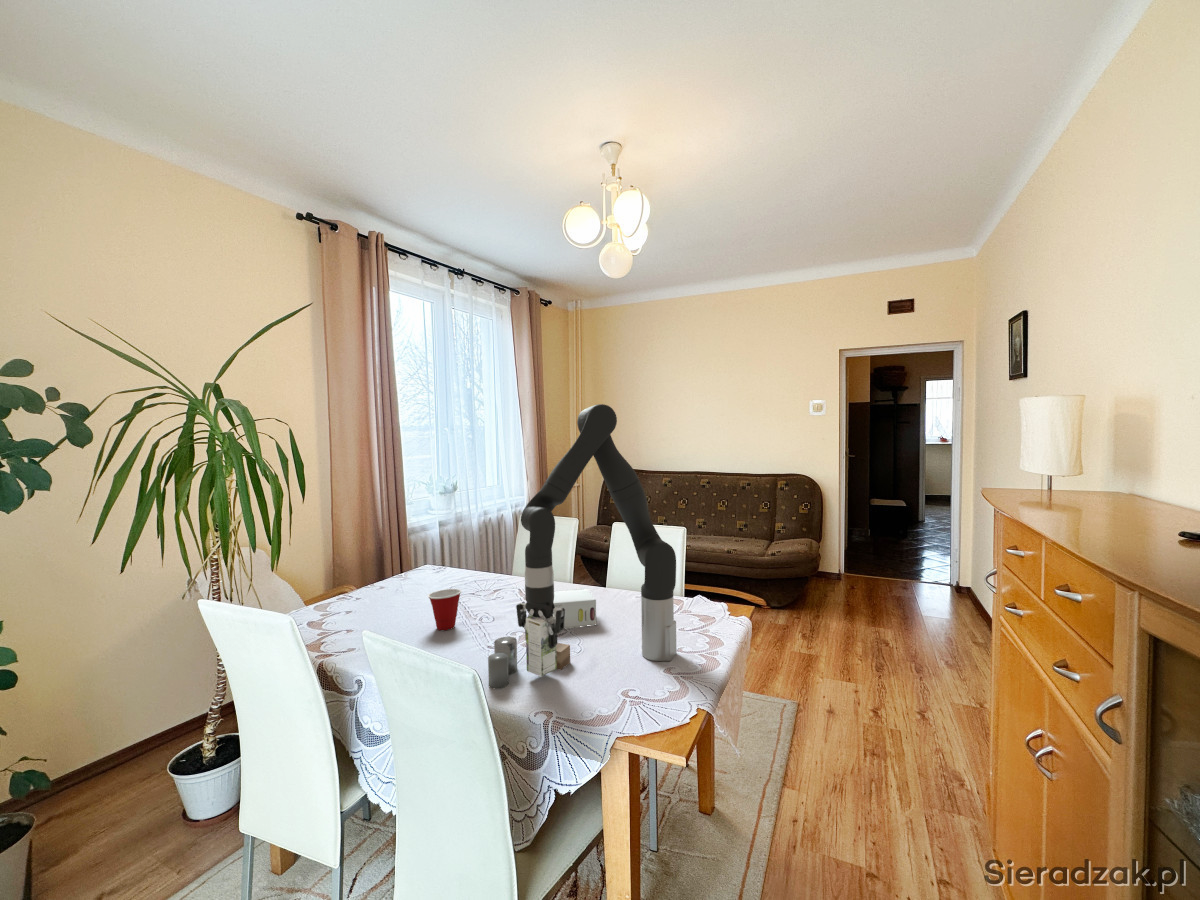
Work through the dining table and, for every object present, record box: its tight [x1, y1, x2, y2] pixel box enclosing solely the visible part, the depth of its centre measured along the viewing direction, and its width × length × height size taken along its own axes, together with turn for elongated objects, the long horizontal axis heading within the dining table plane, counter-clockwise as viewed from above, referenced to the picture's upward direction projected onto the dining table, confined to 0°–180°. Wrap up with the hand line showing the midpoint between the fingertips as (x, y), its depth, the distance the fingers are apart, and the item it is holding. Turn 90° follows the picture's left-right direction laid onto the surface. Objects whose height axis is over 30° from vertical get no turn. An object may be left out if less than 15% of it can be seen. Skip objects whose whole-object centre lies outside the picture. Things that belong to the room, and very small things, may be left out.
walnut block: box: [555, 642, 571, 671], centre depth 140 cm, size 5×5×5 cm
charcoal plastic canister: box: [487, 653, 509, 690], centre depth 129 cm, size 5×5×7 cm
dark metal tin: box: [493, 636, 518, 676], centre depth 137 cm, size 6×6×8 cm
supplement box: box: [553, 588, 597, 629], centre depth 172 cm, size 17×13×9 cm
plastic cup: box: [427, 588, 462, 631], centre depth 169 cm, size 11×11×12 cm
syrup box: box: [525, 615, 557, 677], centre depth 132 cm, size 6×6×14 cm
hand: (541, 645), depth 132 cm, fingers closed on syrup box, 6 cm apart
